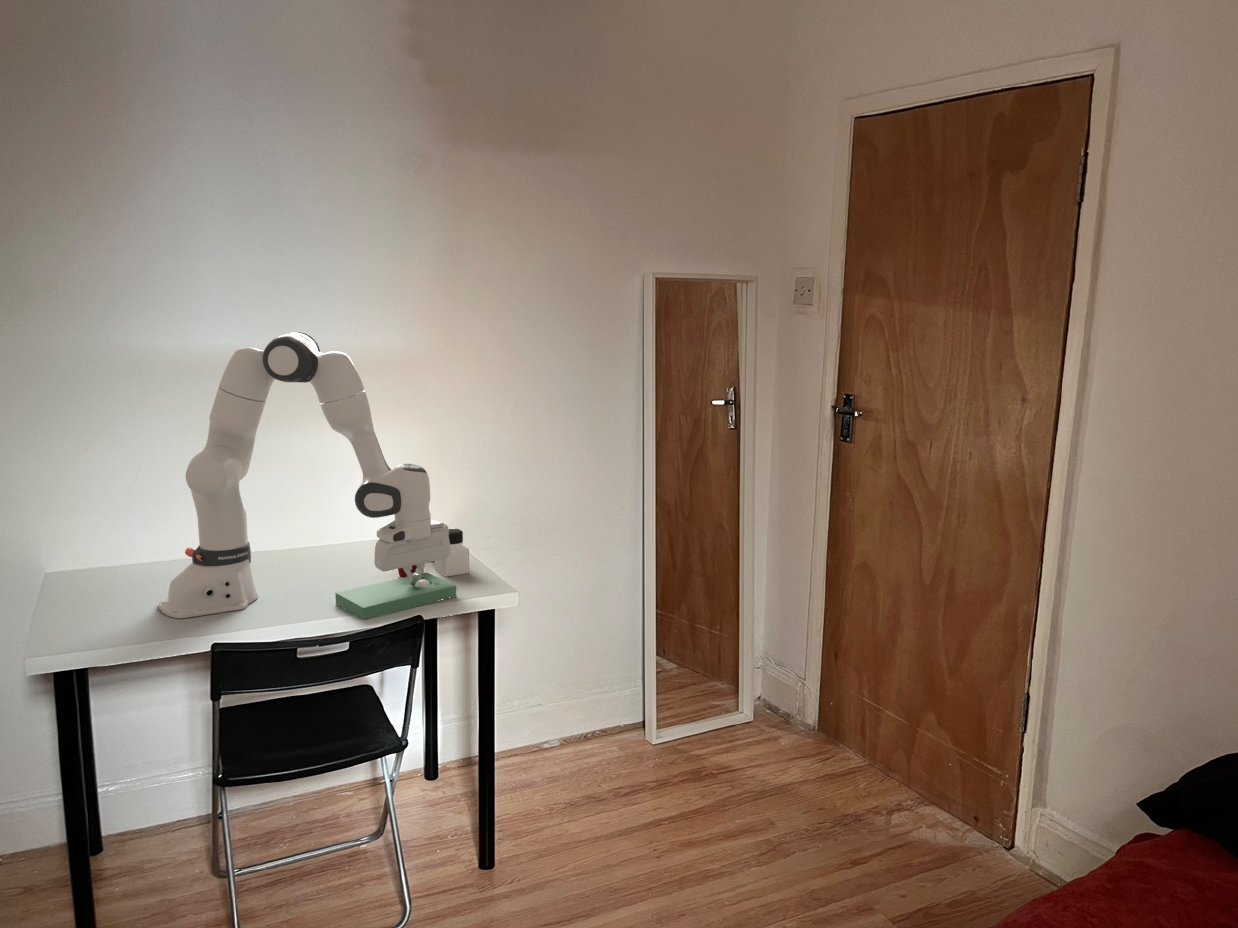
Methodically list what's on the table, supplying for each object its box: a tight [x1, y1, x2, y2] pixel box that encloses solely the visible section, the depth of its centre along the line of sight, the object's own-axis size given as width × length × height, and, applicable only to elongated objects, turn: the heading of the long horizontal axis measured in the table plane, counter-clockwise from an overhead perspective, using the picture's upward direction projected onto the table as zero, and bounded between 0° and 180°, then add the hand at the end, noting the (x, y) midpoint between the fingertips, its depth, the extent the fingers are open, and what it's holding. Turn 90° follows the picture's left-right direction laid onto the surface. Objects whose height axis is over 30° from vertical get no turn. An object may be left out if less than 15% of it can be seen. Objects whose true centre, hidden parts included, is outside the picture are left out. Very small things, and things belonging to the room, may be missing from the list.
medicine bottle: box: [434, 527, 470, 578], centre depth 266 cm, size 7×7×12 cm
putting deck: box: [335, 568, 457, 621], centre depth 242 cm, size 26×16×15 cm, turn 133°
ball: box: [415, 579, 430, 587], centre depth 248 cm, size 4×4×4 cm
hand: (414, 580), depth 246 cm, fingers closed
